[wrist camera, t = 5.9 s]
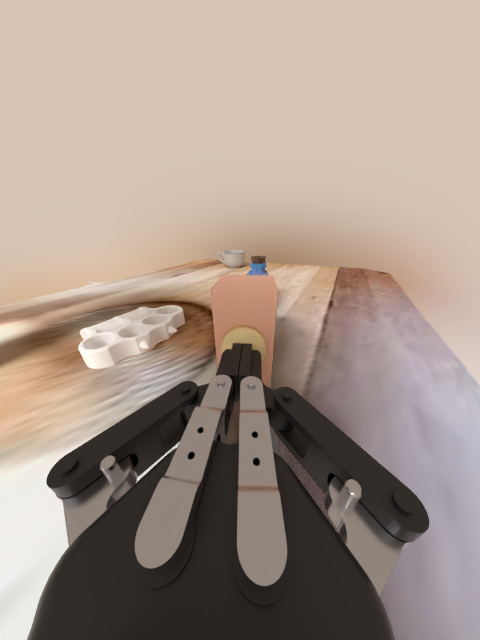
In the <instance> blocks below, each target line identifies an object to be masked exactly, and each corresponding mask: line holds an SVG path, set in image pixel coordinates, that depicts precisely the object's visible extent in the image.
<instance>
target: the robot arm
mask: <svg viewBox="0 0 480 640" xmlns="http://www.w3.org/2000/svg"><path fill="white" fill-rule="evenodd" d="M238 399H239V402H240V420H239V443H234V444H227V438H228V433H229V429H230V424H231V420H232V415H233V408H234V402H235V401H236V402H238ZM270 426H271V427H272V429H273V431H274V432H275V433H276V435H277V436H278V437H279V438H280V440H281V441H282V442H283V443H284V444H285V446H286V447H287V448H288V449H289V450H290V452H291V453H292V454H293V455H294V457H295V458H296V459H297V460H298V461H299V463H300V464H301V465H302V466H303V468H304V469H305V470H306V471H307V472H308V474H309V475H310V476H311V477H312V479H313V480H314V481H315V482H316V483H317V485H318V486H319V487H320V488H321V489H322V491H323V492H324V493H325V507H326V510H327V513H328V515H329V517H330V518H331V520H332V522H333V523H334V525H335V527H336V529H337V532H338V533H337V532H336V530H335V529H334V528H333V526H332V525H331V523H330V522H329V521H328V519H327V518H326V516H325V515H324V514H323V512H322V511H321V510H320V508H319V507H318V505H317V504H316V503H315V501H314V500H313V498H312V497H311V496H310V494H309V493H308V491H307V490H306V489H305V487H304V486H303V485H302V483H301V482H300V480H299V479H298V478H297V476H296V475H295V473H294V472H293V471H292V469H291V468H290V466H289V465H288V464H287V463H286V462H285V461H284V459H282V458H281V457H280V456H279V455H278V454H276V453H275V452H273V449H272V441H271V434H270ZM180 440H181V441H180ZM179 441H180V443H179V445H178V447H177V448H176V449H174V450H173V451H171V452H170V453H169V454H168V455H166V456H165V457H164V458H163V459H162V460H161V461H160V462H159V463H158V464H157V465H155V466H154V467H153V468H152V469H151V470H150V471H149V472H148V473H147V474H146V475H145V476H143V477H142V478H141V479H140V480H139V481H138V482H137V483H136V481H137V477H138V476H140V475H141V474H142V473H143V472H144V471H145V470H147V469H148V468H149V467H150V466H151V465H152V464H154V463H155V462H156V461H157V460H158V459H159V458H161V457H162V456H163V455H164V454H165V453H166V452H168V451H169V450H170V449H171V448H172V447H173V446H175V445H176V444H177V443H178V442H179ZM47 485H48V486H49V487H50V488H51V489H52V490H53V491H54V492H55V493H56V496H57V497H58V498H59V499H60V500H61V501H62V502H63V506H64V513H65V521H66V528H67V536H68V543H69V547H68V549H67V550H66V551H65V553H64V554H63V555H62V557H61V558H60V560H59V561H58V563H57V564H56V566H55V568H54V570H53V571H52V573H51V575H50V577H49V579H48V581H47V583H46V585H45V587H44V590H43V592H42V595H41V597H40V600H39V603H38V607H37V610H36V613H35V617H34V620H33V624H32V627H31V630H30V633H29V636H28V639H27V640H395V638H394V634H393V631H392V627H391V624H390V621H389V618H388V615H387V613H386V610H385V608H384V605H383V603H382V601H381V598H380V595H381V593H382V591H383V588H384V586H385V584H386V582H387V580H388V578H389V576H390V574H391V571H392V569H393V567H394V565H395V563H396V561H397V559H398V557H399V555H400V552H401V551H403V550H404V549H405V548H406V547H407V546H409V545H410V544H411V543H412V542H413V541H415V540H416V539H417V538H418V537H419V536H421V535H422V534H423V533H424V532H425V531H426V530H427V529H428V527H429V518H428V514H427V512H426V510H425V508H424V506H423V504H422V503H421V501H420V500H419V499H418V497H417V496H416V495H415V494H414V493H413V492H412V491H411V490H410V489H409V488H407V487H406V486H405V485H404V484H403V483H402V482H400V481H399V480H398V479H397V478H396V477H395V476H393V475H392V474H391V473H390V472H389V471H388V470H386V469H385V468H384V467H383V466H382V465H381V464H379V463H378V462H377V461H376V460H375V459H374V458H372V457H371V456H370V455H369V454H368V453H367V452H366V451H364V450H363V449H362V448H361V447H360V446H359V445H357V444H356V443H355V442H354V441H353V440H352V439H350V438H349V437H348V436H347V435H346V434H345V433H343V432H342V431H341V430H340V429H339V428H338V427H336V426H335V425H334V424H333V423H332V422H331V421H329V420H328V419H327V418H326V417H325V416H324V415H322V414H321V413H320V412H319V411H318V410H317V409H315V408H314V407H313V406H312V405H311V404H310V403H309V402H307V401H306V400H305V399H304V398H303V397H302V396H300V395H299V394H298V393H297V392H296V391H294V390H293V389H291V388H289V387H280V388H278V389H277V390H274V389H271V388H269V387H267V386H266V385H265V384H264V383H263V381H262V362H261V353H260V352H259V350H252V344H246V343H243V346H242V343H233V345H232V349H226V350H225V351H224V352H223V353H222V356H221V360H220V363H219V366H218V370H217V373H216V376H215V377H213V378H212V380H211V381H210V383H208V384H206V385H201V386H197V385H196V383H194V382H192V381H185V382H182V383H180V384H179V385H177V386H175V387H174V388H172V389H171V390H169V391H167V392H166V393H164V394H163V395H161V396H159V397H158V398H156V399H155V400H153V401H151V402H150V403H148V404H147V405H145V406H143V407H142V408H140V409H139V410H137V411H136V412H134V413H132V414H131V415H129V416H128V417H126V418H124V419H123V420H121V421H120V422H118V423H116V424H115V425H113V426H112V427H110V428H108V429H107V430H105V431H104V432H102V433H100V434H99V435H97V436H96V437H94V438H92V439H91V440H89V441H88V442H86V443H84V444H83V445H81V446H80V447H78V448H76V449H75V450H73V451H72V452H70V453H68V454H67V455H65V456H64V457H63V458H61V459H60V460H59V461H58V462H57V463H56V464H55V465H54V466H53V468H52V469H51V471H50V472H49V474H48V477H47Z"/></svg>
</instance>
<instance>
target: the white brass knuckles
mask: <svg viewBox="0 0 480 640" xmlns="http://www.w3.org/2000/svg"><path fill="white" fill-rule="evenodd" d="M184 324H185V319H184V313H183V309H182V308H181V307H179V306H174V305H170V306H163V307H159V308H148V307H139V308H137V309H136V310H134V311H131V312H128V313H125V314H123V315H120V316H115V317H113V318H112V319H109V320H107V321H104V322H102V323H99V324H96V325H94V326H91V327H86V328H83V329H82V330H81V331H80V335H81V336H82V338H83V339H84V340H83V341H82V342H81V343H80V345H79V351H80V353H81V355H82V357H83V359H84V361H85V363H86V365H87V366H88V367H90V368H94V369H99V368H106V367H110V366H113V365H115V364H116V363H118V362H119V361H121V360H123V359H125V358H127V357H129V356H132V355H136V354H141V353H143V352H146V351H148V350H150V349H153V348H154V346H155V345H156V344H158V343H159V342H161V341H164V340H166V339H169V338H170V337H171V336H172V335H173V334H174V333H175V332H177V331H178V330H176V329H177V328H178V327H180V326H182V325H184Z"/></svg>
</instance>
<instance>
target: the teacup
mask: <svg viewBox="0 0 480 640" xmlns="http://www.w3.org/2000/svg"><path fill="white" fill-rule="evenodd" d="M244 253H245V252H244V251H242V250H227V251H224V253H223V252H219V253H218V254H217V258H218V259H219V260H220V261H221V262H223V263H224V264H225V265H226V266H227V267H229V268H240V267H241V266H242V265H243V264H244ZM219 254H222V255H223V257H224V260H222V259H220V258H219Z"/></svg>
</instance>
